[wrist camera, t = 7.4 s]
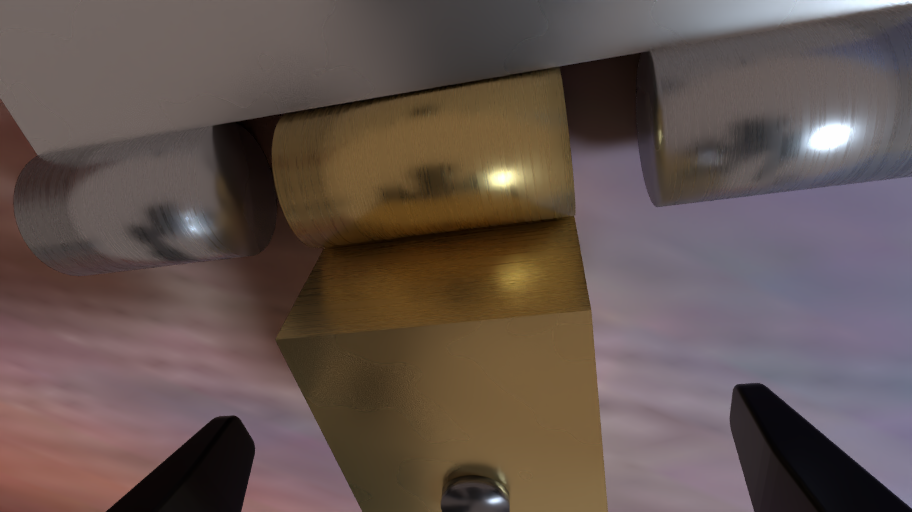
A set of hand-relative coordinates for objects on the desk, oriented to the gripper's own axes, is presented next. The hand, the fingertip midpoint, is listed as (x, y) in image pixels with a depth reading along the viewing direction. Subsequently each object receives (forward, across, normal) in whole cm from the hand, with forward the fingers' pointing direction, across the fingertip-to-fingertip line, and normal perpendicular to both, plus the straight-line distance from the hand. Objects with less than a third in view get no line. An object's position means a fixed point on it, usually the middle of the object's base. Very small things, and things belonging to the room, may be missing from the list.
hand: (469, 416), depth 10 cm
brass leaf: (+3, 0, -1) cm, 3 cm away
